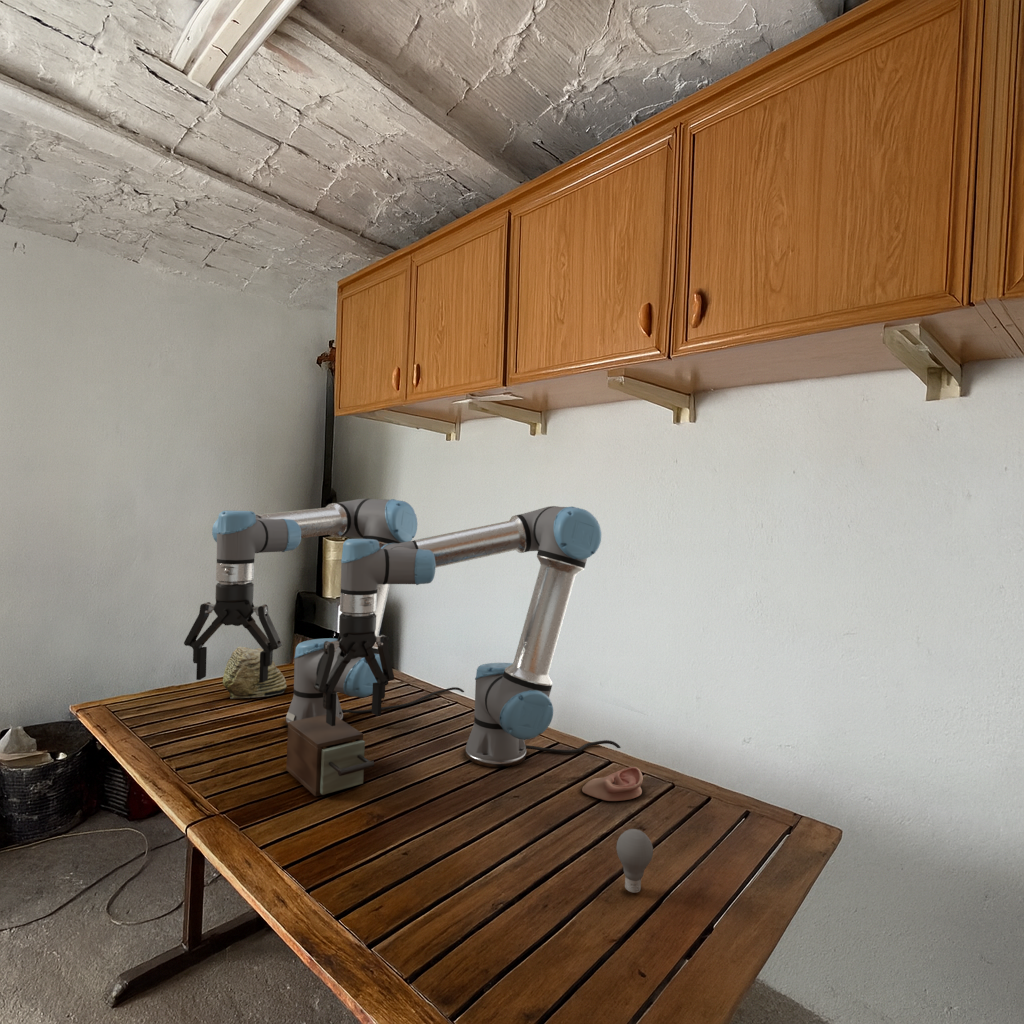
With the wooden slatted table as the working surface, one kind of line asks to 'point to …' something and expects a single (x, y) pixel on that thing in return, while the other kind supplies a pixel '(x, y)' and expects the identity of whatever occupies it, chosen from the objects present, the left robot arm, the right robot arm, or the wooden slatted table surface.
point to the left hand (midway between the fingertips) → (232, 679)
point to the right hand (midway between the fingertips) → (354, 718)
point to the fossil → (251, 675)
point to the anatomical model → (616, 785)
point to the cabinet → (314, 747)
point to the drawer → (343, 766)
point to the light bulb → (634, 857)
